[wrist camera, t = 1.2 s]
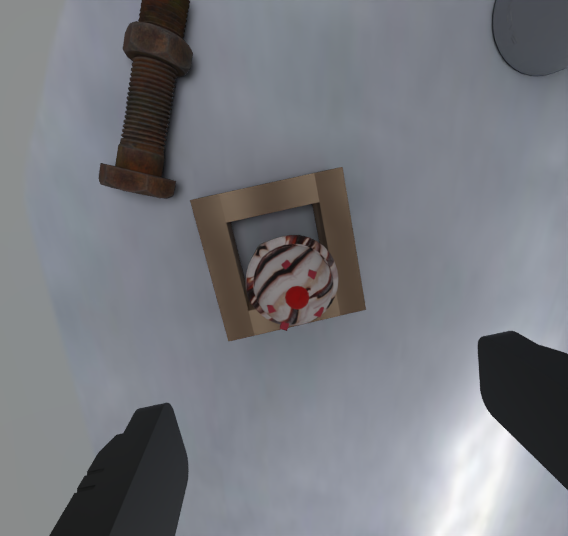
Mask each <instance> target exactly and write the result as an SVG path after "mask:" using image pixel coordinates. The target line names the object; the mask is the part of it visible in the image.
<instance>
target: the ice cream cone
mask: <svg viewBox="0 0 568 536" xmlns="http://www.w3.org/2000/svg"><path fill="white" fill-rule="evenodd" d="M337 288H338V272H337V268H336V265H335V261H334V259H333V257H332V256H331V254H330V252H329V251H328V250H327V249H326V248H325V247H324V246H323V245H321V244H320V243H319V242H317V241H315V240H313V239H311V238H309V237H305V236H301V235H288V236H282V237H278V238H275V239H272V240H270V241H267V242H265V243H263V244H261V245H259V246H258V248H257V249H256V251H255V253H254V255H253V257H252V258H251V261H250V263H249V265H248V269H247V273H246V293H247V296H248V299H249V302H250V303H251V304H252V306H253V307H254V308H255V309H256V310H257V311H258V312H259V313H260V314H261V315H262V316H263V317H265V318H266V319H268V320H269V321H272V322H274V323H276V324H280V329H283V330H286V331H287V329H288V326H289V325H300V324H305V323H308V322H310V321H313V320H314V319H316V318H318V317H321V315H322V314H323V313H324V312H325V311H326V310H327V309H328V308H329V306H330V305H331V304H332V302H333V300H334V298H335V296H336V292H337Z"/></svg>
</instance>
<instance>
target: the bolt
mask: <svg viewBox="0 0 568 536" xmlns="http://www.w3.org/2000/svg"><path fill="white" fill-rule="evenodd" d="M189 3H190V1H189V0H142V3H141V9H140V12H141V13H140V14H139V16H140V18H139V20H138V21H139V22H137V21H136V22H132V23H130V24H129V26H128V27H127V30H126V32H125V37H124V44H123V51H124V52H125V54H126V55H127V57H128V58H130V59H131V60H132V61H133V63H132V66H133V68H131V71H132V73H131V74H130V75H131V76H132V77H131V78H130V81H131V82H130V83H129V85H130V86H131V87H128V89H129V91H130V92H128V95H129V96H128V97H127V100H128V101H127V102H126V104H127V105H128V106H126V109H127V111H126V112H125V113H126V114H127V115H125V118H126V120H124V123H125V124H124V125H123V127H124V128H125V129H122V132H124V133H123V134H121V136H122V137H124V138H121V141H120V144H119V145H118V152H117V158H116V165H115V166H112V165H107V164H103V163H101V164H100V171H99V182H100V184H101V185H105V186H108V187H112V188H116V189H120V190H123V191H128V192H132V193H137V194H142V195H147V196H153V197H157V198H166V199H167V198H170V197H172V196H173V195H174V190H175V184H176V181H174V180H170V179H166V178H162V171H163V165H164V158H165V157H164V151H163V150H165V148H164V147H163V146H165V145H166V144H165V143H164V142H163V141H166V139H165V138H164V137H167V135H166V134H165V133H166V132H168V131H167V129H166V128H169V126H168V125H167V124H169V121H168V119H170V116H169V115H171V113H170V112H169V111H170V110H172V109H171V108H170V106H172V103H171V102H173V99H172V97H174V95H173V94H172V93H174V92H175V91H174V89H173V88H175V85H174V84H175V83H176V81H175V79H177V77H182V76H184V75H185V74H187V72H188V71H189V70H190V67H191V62H192V56H193V52H192V50H191V49H190V47H189V45H188V44H187V43H186V42H185V41H184V40H183V37H184V32H185V29H184V28H185V27H186V25H185V23H186V21H187V20H186V18H187V13H188V8H189Z"/></svg>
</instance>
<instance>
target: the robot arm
mask: <svg viewBox="0 0 568 536" xmlns="http://www.w3.org/2000/svg"><path fill="white" fill-rule="evenodd" d="M493 30H494V36H495V41H496V43H497V46H498V49H499V51H500V53H501V54H502V56H503V57H504V59H505V60H506V61H507V62H508V63H509V64H510V65H511V66H512V67H513V68H515V69H516V70H518V71H520V72H521V73H525V74H528V75H534V76H543V75H547V74H552V73H555V72H557V71H560V70H563V69H565V68H568V0H496V3H495V8H494V13H493ZM478 360H479V377H480V391H481V396H482V399H483V402H484V404H485V406H486V408H487V409H488V411H489V412H490V414H491V415H492V416H493V417H494V418H495V419H496V420H497V421H498V422H499V423H500V424H501V425H502V426H503V427H504V428H505V429H506V430H507V431H508V432H509V433H510V434H511V435H512V436H513V437H514V438H515V439H516V440H517V441H518V442H519V443H520V444H521V445H522V446H523V447H524V448H525V449H526V450H527V451H529V452H530V453H531V454H532V455H533V456H534V457H535V458H536V459H537V460H538V461H539V462H540V463H541V464H542V465H543V466H544V467H545V468H546V469H547V470H548V471H549V472H550V473H551V474H552V475H553V476H554V477H555V478H556V479H557V480H558V481H559V482H560V483H561V484H562V485H563V486H564V487H565V488H566V489H567V490H568V354H567V353H564V352H561V351H558V350H554V349H551V348H548V347H545V346H541V345H538V344H536V343H534V342H533V341H531V340H529V339H527V338H526V337H524V336H522V335H520V334H519V333H517V332H515V331H507V332H502V333H497V334H493V335H488V336H483V337H481V338H480V339H479V341H478ZM187 481H188V458H187V453H186V450H185V446H184V443H183V440H182V437H181V433H180V430H179V427H178V424H177V420H176V417H175V414H174V411H173V408H172V406H171V405H170V404H169V403H163V404H158V405H154V406H149V407H144V408H140V409H137V410H136V411H135V413H134V414H133V416H132V418H131V420H130V422H129V424H128V426H127V427H126V429H125V431H124V433H123V434H118V435H116V436H115V437H114V438H113V439H112V440H111V441H110V442H109V443H108V444H107V445H106V446H105V447H104V448H103V449H102V450H101V451H100V452H99V453H98V454H97V456H96V458H95V459H94V461H93V463H92V465H91V466H90V468H89V470H88V471H87V476H84V478H83V480H82V481H81V483H80V485H79V486H78V488H77V493H74V495H73V497H72V498H71V500H70V502H69V504H68V505H67V507H66V508H65V510H64V512H63V513H62V515H61V517H60V519H59V520H58V522H57V524H56V525H55V527H54V529H53V530H52V532H51V534H50V536H175V533H176V529H177V525H178V520H179V516H180V512H181V507H182V503H183V499H184V495H185V490H186V486H187Z"/></svg>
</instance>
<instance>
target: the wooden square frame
mask: <svg viewBox="0 0 568 536" xmlns="http://www.w3.org/2000/svg"><path fill="white" fill-rule="evenodd" d="M190 202H191V206H192V209H193V213H194V217H195V220H196V224H197V228H198V231H199V235H200V239H201V242H202V246H203V250H204V253H205V257H206V261H207V264H208V268H209V272H210V275H211V279H212V283H213V286H214V290H215V294H216V297H217V301H218V305H219V308H220V312H221V316H222V319H223V323H224V327H225V330H226V334H227V338H228V341H233V340H237V339H241V338H246V337H250V336H254V335H259V334H263V333H267V332H272V331H276V330H280V324H276V323H274V322H272V321H269V320H268V319H266V318H265V317H263V316H262V315H261V314H260V313H259V312H258V311H257V310H256V309H255V308H254V307H253V306H252V304H251V303H250V302H249V299H248V296H247V293H246V282H245V278H244V274H243V270H242V266H241V262H240V258H239V254H238V250H237V246H236V242H235V238H234V234H233V230H232V226H231V222H232V221H236V220H241V219H245V218H250V217H254V216H259V215H263V214H268V213H272V212H277V211H281V210H286V209H290V208H295V207H299V206H304V205H308V204H312V206H313V211H314V216H315V221H316V227H317V232H318V237H319V242H320V244H321V245H323V246H324V247H325V248H326V249H327V250H328V251H329V252H330V254H331V256H332V257H333V259H334V261H335V265H336V268H337V272H338V288H337V292H336V296H335V298H334V300H333V302H332V304H331V305H330V306H329V308H328V309H327V310H326V311H325V312H324V313H323V314H322V315H321V317H318V318H316V319H314V320H313V321H310V322H315V321H319V320H323V319H328V318H332V317H336V316H340V315H345V314H349V313H353V312H358V311H362V310H366V307H365V301H364V295H363V289H362V283H361V277H360V270H359V264H358V258H357V252H356V246H355V240H354V234H353V228H352V222H351V216H350V210H349V204H348V198H347V192H346V186H345V180H344V174H343V168H342V167H340V168H335V169H330V170H326V171H321V172H317V173H312V174H308V175H303V176H298V177H294V178H289V179H285V180H280V181H276V182H271V183H266V184H262V185H257V186H253V187H248V188H244V189H239V190H234V191H230V192H225V193H221V194H216V195H212V196H207V197H202V198H198V199H193V200H190ZM310 322H308V323H310ZM305 324H306V323H305ZM300 325H302V324H300ZM293 326H297V325H289V326H288V328H289V327H293Z"/></svg>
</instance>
